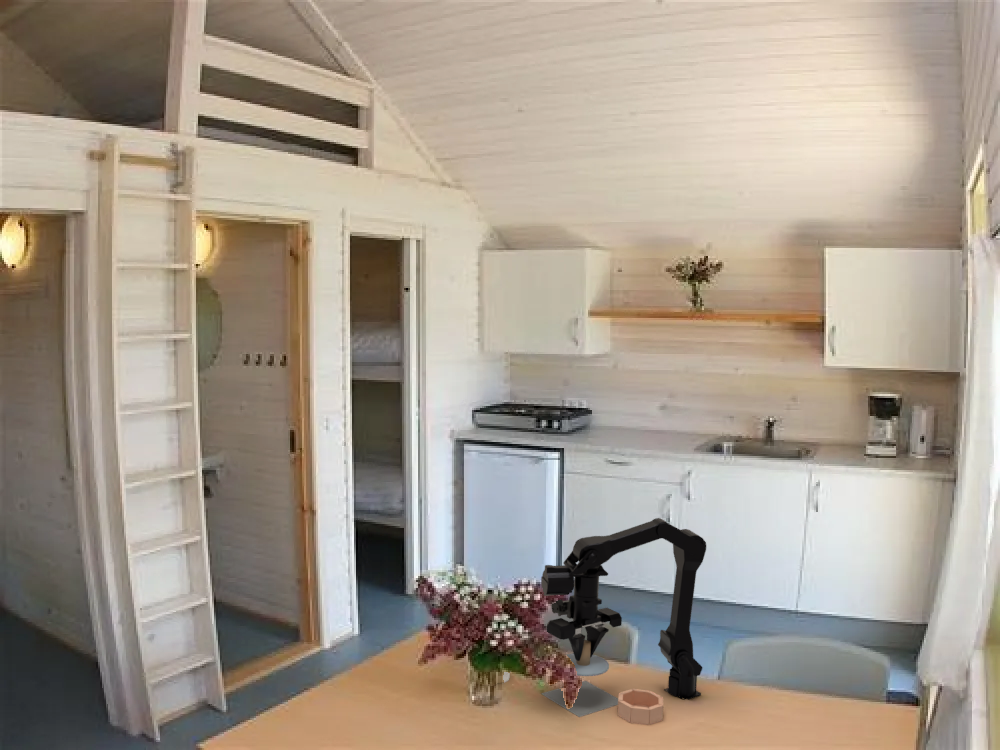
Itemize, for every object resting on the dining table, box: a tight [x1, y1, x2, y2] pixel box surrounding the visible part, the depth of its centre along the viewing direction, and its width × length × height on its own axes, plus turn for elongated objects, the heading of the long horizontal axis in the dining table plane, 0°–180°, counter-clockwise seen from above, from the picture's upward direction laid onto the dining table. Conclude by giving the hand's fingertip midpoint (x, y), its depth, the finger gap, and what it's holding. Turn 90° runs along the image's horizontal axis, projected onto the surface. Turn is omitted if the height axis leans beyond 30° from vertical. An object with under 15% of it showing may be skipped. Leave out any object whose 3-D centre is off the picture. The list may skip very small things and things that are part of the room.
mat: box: [540, 680, 618, 718], centre depth 207 cm, size 14×14×1 cm
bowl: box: [617, 688, 664, 726], centre depth 200 cm, size 10×10×4 cm
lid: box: [565, 639, 610, 677], centre depth 206 cm, size 12×12×6 cm
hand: (583, 658), depth 207 cm, fingers closed on lid, 3 cm apart
